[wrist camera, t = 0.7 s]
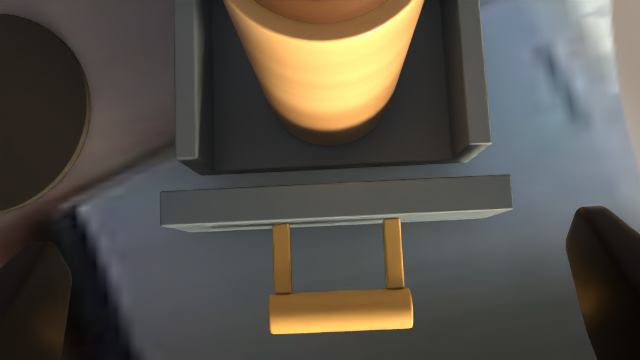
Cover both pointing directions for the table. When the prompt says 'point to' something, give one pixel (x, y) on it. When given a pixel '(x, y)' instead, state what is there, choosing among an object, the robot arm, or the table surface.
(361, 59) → the pepper mill
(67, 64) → the coaster
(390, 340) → the table surface
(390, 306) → the drawer
